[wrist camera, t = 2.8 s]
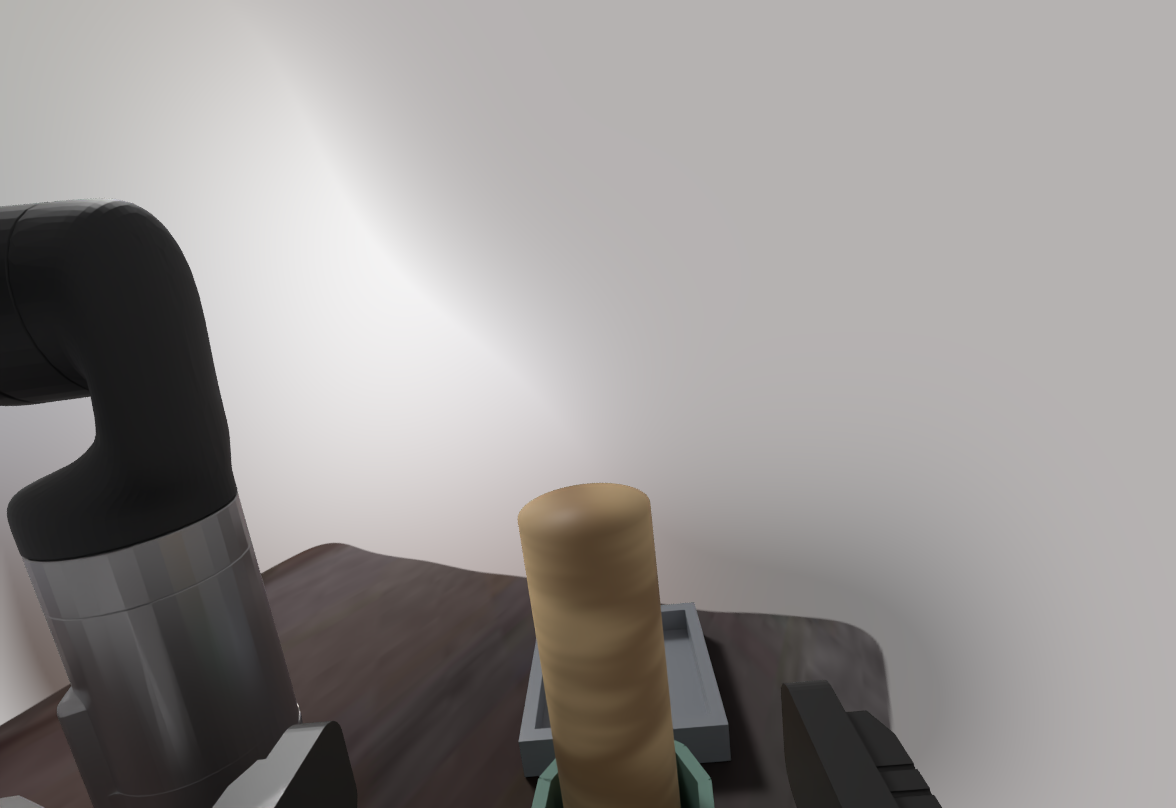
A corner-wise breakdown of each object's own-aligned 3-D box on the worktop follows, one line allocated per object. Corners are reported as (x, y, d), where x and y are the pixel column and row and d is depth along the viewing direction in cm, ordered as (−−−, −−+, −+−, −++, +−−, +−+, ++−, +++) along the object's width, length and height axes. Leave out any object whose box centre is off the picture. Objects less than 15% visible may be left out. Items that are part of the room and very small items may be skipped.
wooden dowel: (605, 969, 22) (542, 554, 18) (560, 855, 27) (502, 504, 23) (711, 903, 24) (676, 513, 20) (652, 808, 28) (614, 474, 24)
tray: (731, 760, 31) (728, 724, 31) (524, 776, 32) (518, 741, 31) (696, 630, 43) (693, 602, 42) (544, 644, 43) (540, 616, 43)
